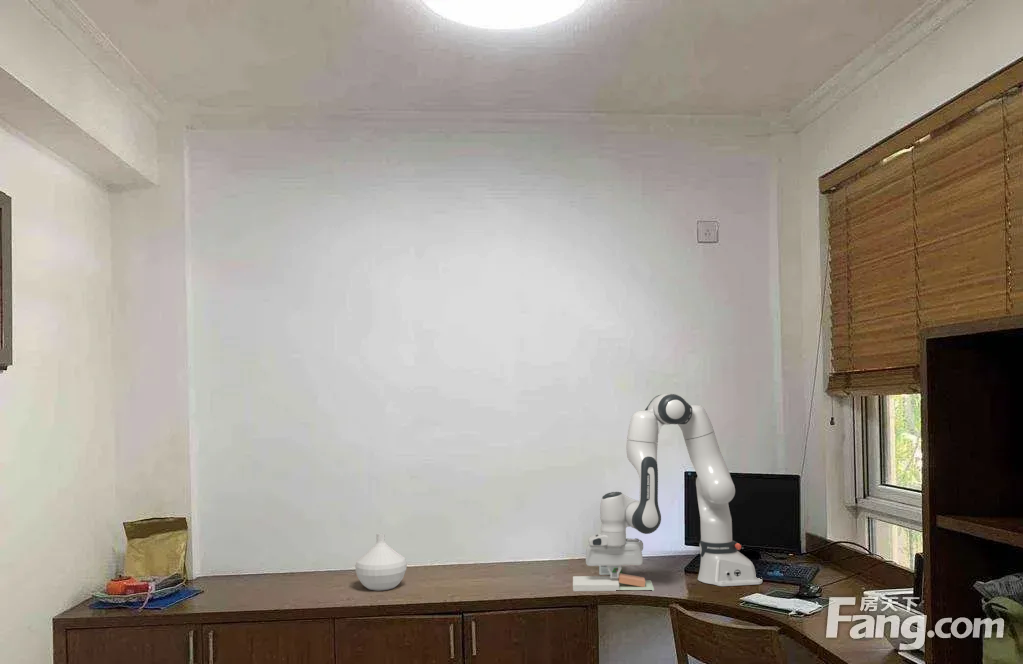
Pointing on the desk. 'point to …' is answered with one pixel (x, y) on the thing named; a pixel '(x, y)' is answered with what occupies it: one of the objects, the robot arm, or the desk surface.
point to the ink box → (604, 570)
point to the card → (631, 580)
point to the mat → (632, 587)
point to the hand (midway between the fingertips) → (614, 578)
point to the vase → (381, 566)
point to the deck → (595, 583)
